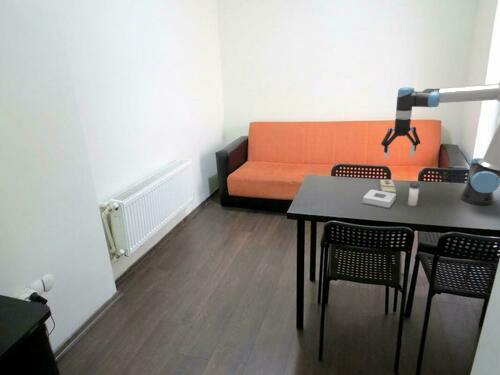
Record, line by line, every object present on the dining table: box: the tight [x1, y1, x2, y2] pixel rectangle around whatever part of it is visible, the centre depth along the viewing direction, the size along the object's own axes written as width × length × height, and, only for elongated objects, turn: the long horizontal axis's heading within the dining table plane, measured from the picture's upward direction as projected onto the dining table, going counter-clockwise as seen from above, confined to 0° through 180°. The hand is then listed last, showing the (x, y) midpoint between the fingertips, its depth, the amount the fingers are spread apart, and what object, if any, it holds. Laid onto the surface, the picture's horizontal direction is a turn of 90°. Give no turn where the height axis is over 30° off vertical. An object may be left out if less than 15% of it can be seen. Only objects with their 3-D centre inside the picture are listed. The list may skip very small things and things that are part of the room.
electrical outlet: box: [379, 179, 397, 195], centre depth 208 cm, size 7×4×18 cm
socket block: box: [362, 189, 397, 209], centre depth 193 cm, size 14×14×4 cm
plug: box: [407, 181, 421, 207], centre depth 186 cm, size 5×5×12 cm
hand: (399, 157), depth 190 cm, fingers open, 13 cm apart
